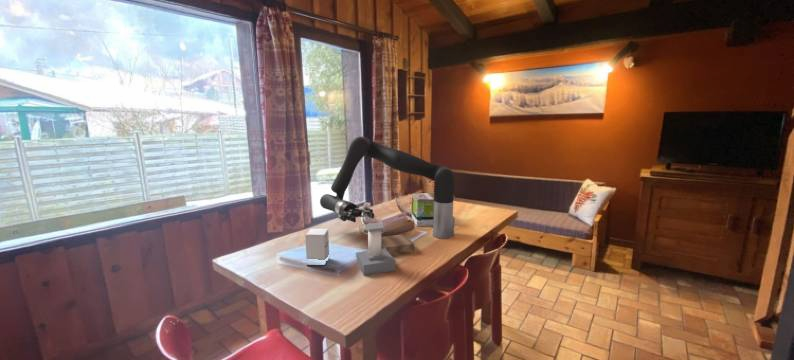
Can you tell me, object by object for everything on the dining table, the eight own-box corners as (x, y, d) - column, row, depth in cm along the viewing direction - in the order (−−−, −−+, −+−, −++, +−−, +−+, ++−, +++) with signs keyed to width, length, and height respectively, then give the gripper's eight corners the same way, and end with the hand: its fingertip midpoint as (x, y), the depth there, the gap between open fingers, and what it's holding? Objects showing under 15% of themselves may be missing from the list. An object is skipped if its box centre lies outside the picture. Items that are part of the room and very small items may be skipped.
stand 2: (403, 242, 147) (403, 234, 147) (413, 252, 136) (413, 243, 136) (378, 245, 143) (378, 237, 143) (386, 256, 132) (386, 247, 132)
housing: (380, 252, 127) (380, 222, 124) (384, 258, 121) (384, 227, 119) (365, 254, 125) (364, 224, 122) (369, 260, 119) (368, 229, 117)
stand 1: (385, 257, 131) (385, 248, 130) (395, 270, 120) (395, 260, 119) (356, 262, 127) (356, 252, 126) (363, 275, 116) (363, 265, 115)
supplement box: (325, 266, 123) (324, 234, 121) (306, 266, 123) (304, 234, 121) (329, 258, 130) (328, 228, 128) (311, 258, 131) (310, 228, 128)
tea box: (435, 225, 171) (435, 198, 168) (416, 226, 170) (416, 199, 167) (428, 217, 186) (429, 192, 183) (411, 218, 184) (411, 192, 182)
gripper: (331, 204, 141) (348, 212, 128) (359, 199, 149) (378, 206, 136) (332, 220, 142) (349, 230, 129) (360, 214, 150) (379, 223, 137)
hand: (364, 218), depth 133 cm, fingers open, 8 cm apart
